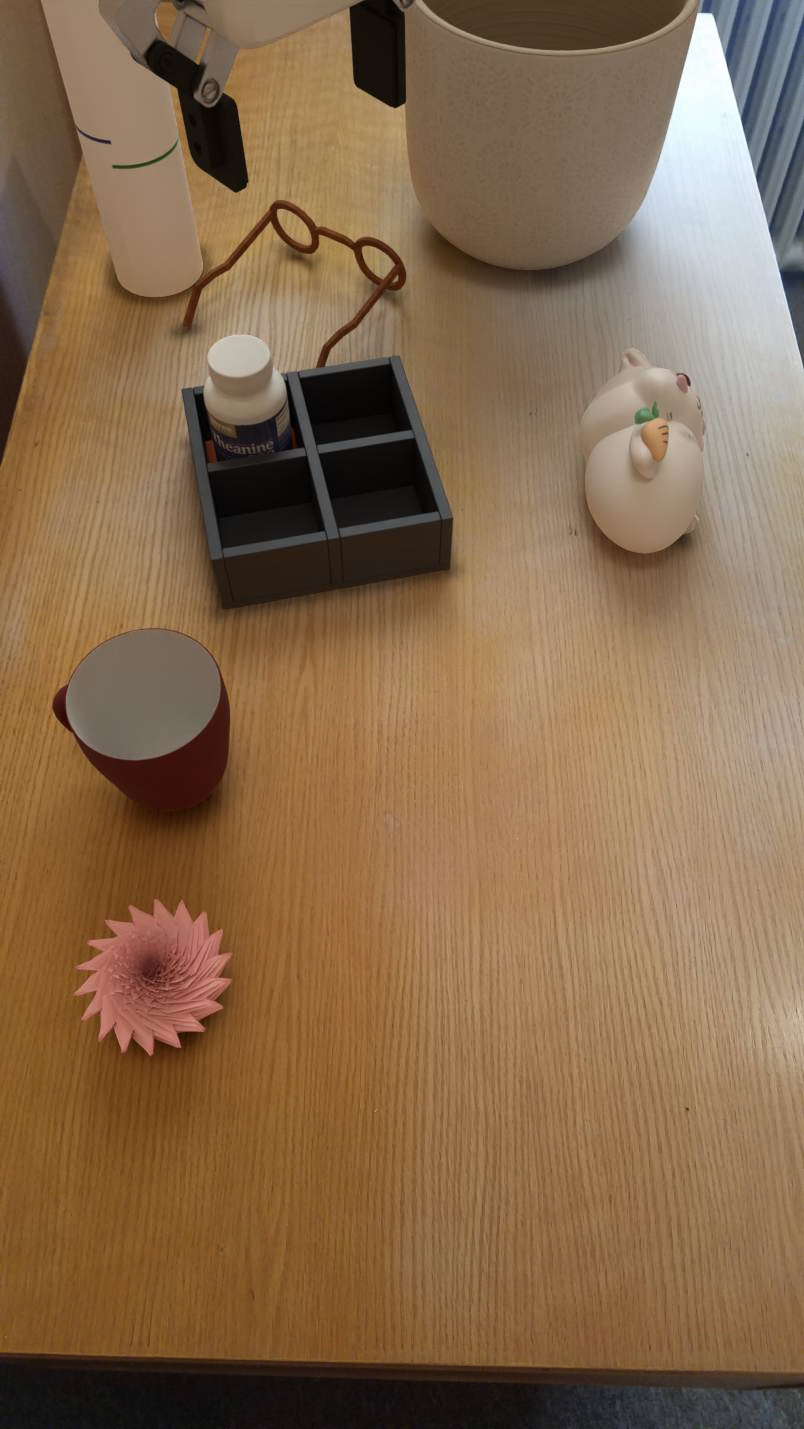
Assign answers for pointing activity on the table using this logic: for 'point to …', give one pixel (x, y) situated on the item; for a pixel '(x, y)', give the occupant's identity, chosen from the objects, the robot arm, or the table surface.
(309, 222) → the glasses
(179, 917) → the flower
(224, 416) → the pill bottle
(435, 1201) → the table surface
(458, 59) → the planter
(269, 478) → the divided storage tray
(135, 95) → the cylindrical container
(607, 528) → the white animal figurine
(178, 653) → the mug
